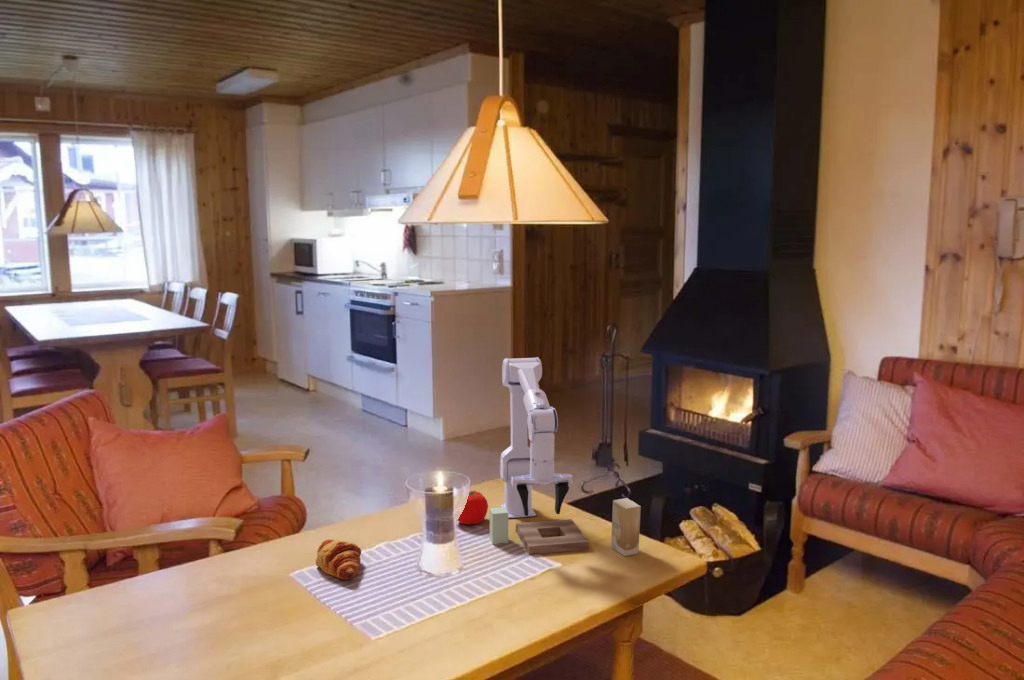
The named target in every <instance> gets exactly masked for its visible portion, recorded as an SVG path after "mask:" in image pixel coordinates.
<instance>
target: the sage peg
mask: <svg viewBox="0 0 1024 680" xmlns="http://www.w3.org/2000/svg"><path fill="white" fill-rule="evenodd" d="M489 540H490V542H491V545H492V544H495V545H499V544H498V543H508V544H509V518H508V511H507V509H506V508H505V507H500V506H499V507H490V508H489Z"/></svg>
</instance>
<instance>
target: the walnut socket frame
mask: <svg viewBox="0 0 1024 680" xmlns="http://www.w3.org/2000/svg"><path fill="white" fill-rule="evenodd" d="M515 532H516V533H517V535H518V538H519V540H520V541H521V543H522V544H523V547H524V546H525V547H524V548H525V550H526V552H527V554H528V553H529V554H528V555H533V554H532V553H539V554H548V553H549V554H550V553H560V552H561V553H562V552H570V551H571V552H572V551H573V552H574V551H582V550H585V551H586V550H589V547H590V546H589V543H590V541H589V539H588V538H586V536H585V535H584V533H583V532H582V531H581V530H580V528H579V527H578V526H577V524H576V523H575V521H574V520H573V519H572V518H571V519H570V518H569V519H567V518H566V519H554V520H543V521H542V520H541V521H531V522H529V521H528V522H515ZM553 535H554V536H553ZM555 535H560V536H555ZM543 536H544V537H543ZM545 536H549V537H545ZM550 536H551V537H550Z"/></svg>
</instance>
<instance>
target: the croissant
mask: <svg viewBox="0 0 1024 680" xmlns="http://www.w3.org/2000/svg"><path fill="white" fill-rule="evenodd" d="M316 553H317V554H316V560H315V565H316V566H315V567H318V568H320V569H321V571H322V572H323V573H325V574H327V575H330V576H332V577H335V578H337V579H340V580H344V581H345V580H348V581H349V580H350V579H353V578H355V576H356V575H357V574H359V573H358V572H359V569H360V565H361V555H362V550H361V548H360V547H359V546H358V545H357V544H356V543H355V542H353V541H352V542H351V541H348V540H347V541H346V540H341V539H330V538H329V539H326V540H323V542H321V544H319V546H318V548H317V551H316Z"/></svg>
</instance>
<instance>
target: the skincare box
mask: <svg viewBox="0 0 1024 680" xmlns="http://www.w3.org/2000/svg"><path fill="white" fill-rule="evenodd" d="M641 509H642V507H641V505H639V504H638V503H636V502H634V501H633V500H631V499H629V498H628V497H625V498H619V499H613V500H612V514H611V515H612V516H611V519H612V520H611V521H612V523H611V537H610V538H611V539H610V547H611V548H612V549H614V550H615V551H616V552H617V553H619V554H620V555H622V556H624V557H627V556H632V555H637V554H639V551H640V549H639V548H640V527H641V512H642V511H641Z"/></svg>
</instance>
